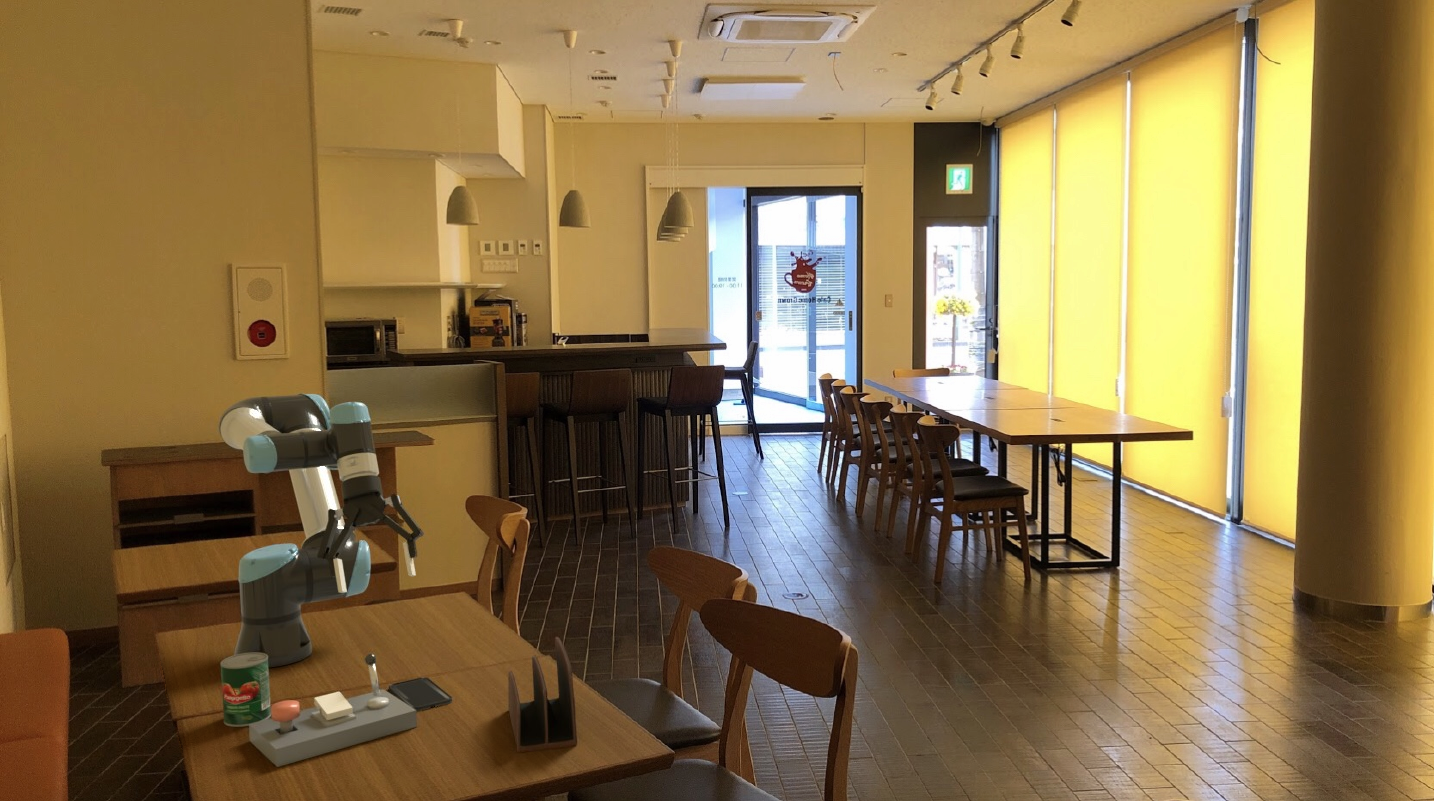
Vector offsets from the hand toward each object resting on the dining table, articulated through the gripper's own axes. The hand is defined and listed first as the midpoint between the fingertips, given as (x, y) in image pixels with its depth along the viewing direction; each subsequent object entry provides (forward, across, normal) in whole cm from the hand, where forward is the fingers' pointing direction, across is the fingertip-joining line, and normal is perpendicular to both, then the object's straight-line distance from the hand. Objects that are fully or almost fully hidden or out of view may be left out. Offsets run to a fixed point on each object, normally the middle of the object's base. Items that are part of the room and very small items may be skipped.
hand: (377, 584), depth 207 cm
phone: (+23, +4, +1) cm, 23 cm away
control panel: (+26, -7, -16) cm, 31 cm away
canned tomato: (+20, -24, -8) cm, 32 cm away
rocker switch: (+22, -6, -17) cm, 28 cm away
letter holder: (+34, +28, -15) cm, 46 cm away
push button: (+24, -13, -22) cm, 35 cm away
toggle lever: (+22, 0, -12) cm, 25 cm away
